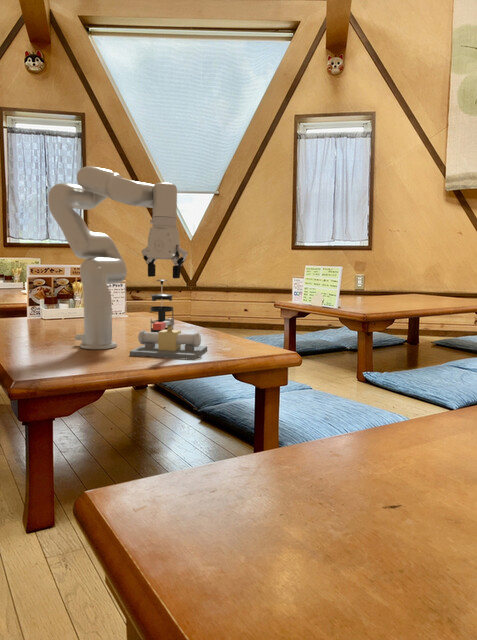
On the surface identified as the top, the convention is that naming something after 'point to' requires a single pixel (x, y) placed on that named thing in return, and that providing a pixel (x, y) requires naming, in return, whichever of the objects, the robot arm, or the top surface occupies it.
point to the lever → (163, 324)
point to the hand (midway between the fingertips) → (163, 277)
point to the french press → (161, 307)
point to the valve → (169, 344)
